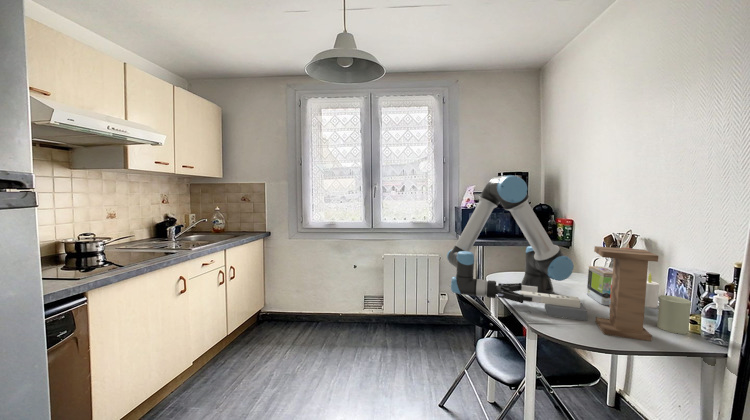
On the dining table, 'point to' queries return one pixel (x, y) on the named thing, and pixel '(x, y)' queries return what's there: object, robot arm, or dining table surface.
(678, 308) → the can
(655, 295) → the candle
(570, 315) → the charcoal platform
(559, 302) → the domino bar
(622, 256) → the walnut pedestal
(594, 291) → the tea box
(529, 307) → the dining table surface
